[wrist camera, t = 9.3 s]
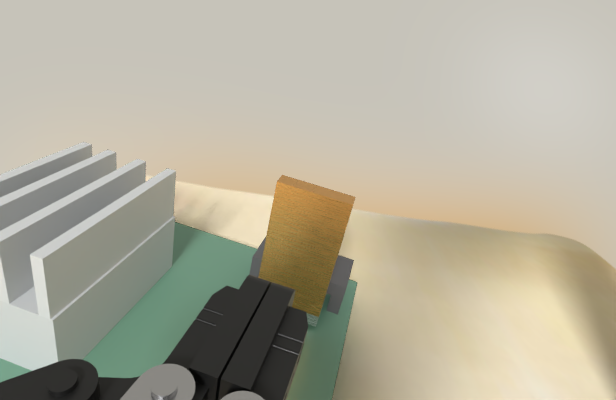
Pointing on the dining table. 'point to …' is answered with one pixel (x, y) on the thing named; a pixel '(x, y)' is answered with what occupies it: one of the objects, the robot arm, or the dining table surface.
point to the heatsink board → (188, 302)
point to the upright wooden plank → (304, 241)
